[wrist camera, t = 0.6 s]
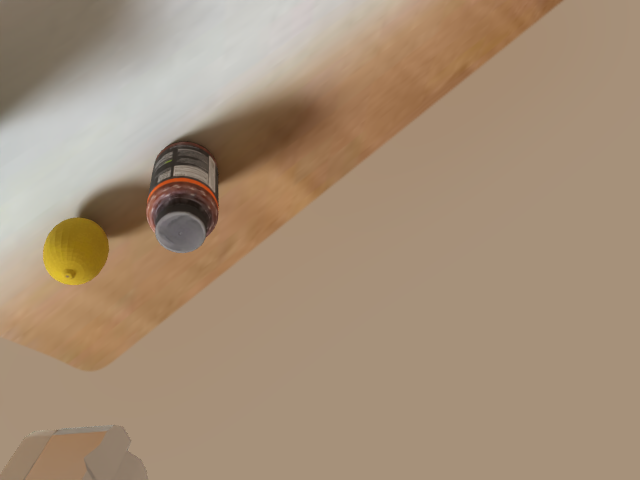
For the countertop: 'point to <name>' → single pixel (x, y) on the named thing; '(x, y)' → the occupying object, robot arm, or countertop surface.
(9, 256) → the countertop surface
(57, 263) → the lemon
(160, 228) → the supplement bottle
